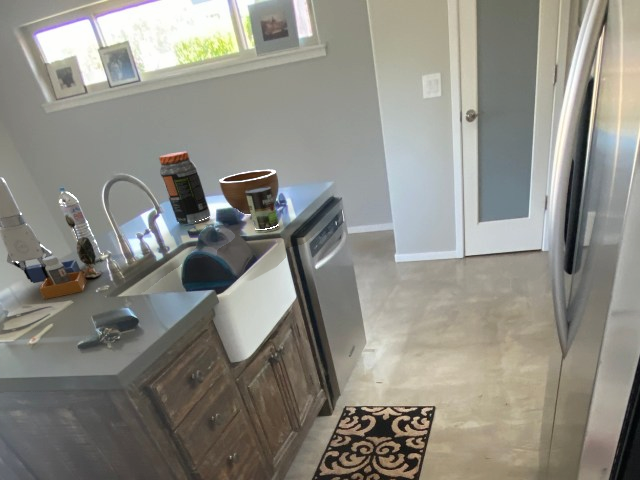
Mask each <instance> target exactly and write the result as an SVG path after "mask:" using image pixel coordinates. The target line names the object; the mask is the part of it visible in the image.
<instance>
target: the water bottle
mask: <svg viewBox="0 0 640 480" xmlns="http://www.w3.org/2000/svg"><path fill="white" fill-rule="evenodd" d="M58 190H59V192H60V194H59V195H58V198H57V204H58V207H59V208H60V210H61V212H62V214H63V217H64V219H65V220H66V217H65V216H66V215H69V216H71V217H72V218H73V220H74V222H75V226H74V228H75V231H76V233H77V236H78V239H80V237H87V238H88V239H89V240H90V242H91V244H92V246H93V249H94V252H95V256H96V258H95V263H97V262H100V261H99V257H100V254H102V252H101V250H100V247H99V245H98V243H97V241H96V238H95V236H94V233H93V232H92V230H91V227H90V225H89V223H88V221H87V219H86V216H85V214H84V212H83V210H82V208H81V205H80V203H79V200H78V199H77V197H76V196H74V195H73V194H71V193H70V192H68V191H66V187H64V186H61V187H58ZM68 228H69V230H70V232H71V234H72V237H73V238H74V241H75V243H76V244H77V241H78V239H77V236H76V233H75V231H74V229H73V227H72V229H71V227H70V226H69V225H68Z"/></svg>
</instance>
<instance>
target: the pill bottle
mask: <svg viewBox="0 0 640 480" xmlns="http://www.w3.org/2000/svg"><path fill="white" fill-rule="evenodd" d="M43 258H44V259H42V261H43V263H44V264H45V265H46V267H45V269H46V271H47V273H48V275H49V277H50V279H51V281H52V283H53V285H57V284H62V283H67V282H71V279H70V277H69V275H68V274H67V272H66V270H65V268H64V266H63V264H62V263H61V261H60V260H59V257H58V256H57V255H52V256H50V257H46V258H45V257H43Z"/></svg>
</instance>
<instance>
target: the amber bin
mask: <svg viewBox="0 0 640 480" xmlns="http://www.w3.org/2000/svg"><path fill="white" fill-rule="evenodd" d="M82 271H83V270H80V271H79V272H74V273H69V274H68V275H69V277H70V279H71V282H67V283H62V284H57V285H53V283H52V281H51V279H50V277H49V278H45V280H44V281H43V282H41V284H40V286H39V287H38V289H39V292H40V293H41V295H42V297H43V299H44V300H48V299H52V298H57V297H61V296H67V295H72V294H76V293H81V292H83V291H84V289H85V286H86V284H87V279H86V277H84V275H83V272H82Z"/></svg>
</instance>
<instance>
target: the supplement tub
mask: <svg viewBox="0 0 640 480" xmlns="http://www.w3.org/2000/svg"><path fill="white" fill-rule="evenodd" d="M158 159H159V163H160V165H161V166H160V169H159V173H160V177H161V180H162V182H163V185H164V188H165V191H166V195H167V197H168V200H169V203H170V206H171V208H172V211H173V214H174V217H175V220H176V222H177V223H178V222H179V223H178V224H180V225H183V226H186V225H187V226H188V225H194V224H199V223H202V222H205V221H207V220H209V219H210V218H211V211H210V208H209V205H208V201H207V198H206V195H205V192H204V188H203V184H202V182H201V179H200V175H199V171H198V168H197V166H196V165H195V163H194V162H193V161H192V160H191V158H190V156H189V153H188V151H177V152H173V153H166V154H163V155H160V156H159V157H158ZM209 216H210V217H209ZM207 217H209V218H207ZM205 218H207V219H205ZM202 219H204V220H202ZM199 220H201V221H199ZM195 221H196V222H195Z"/></svg>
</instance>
